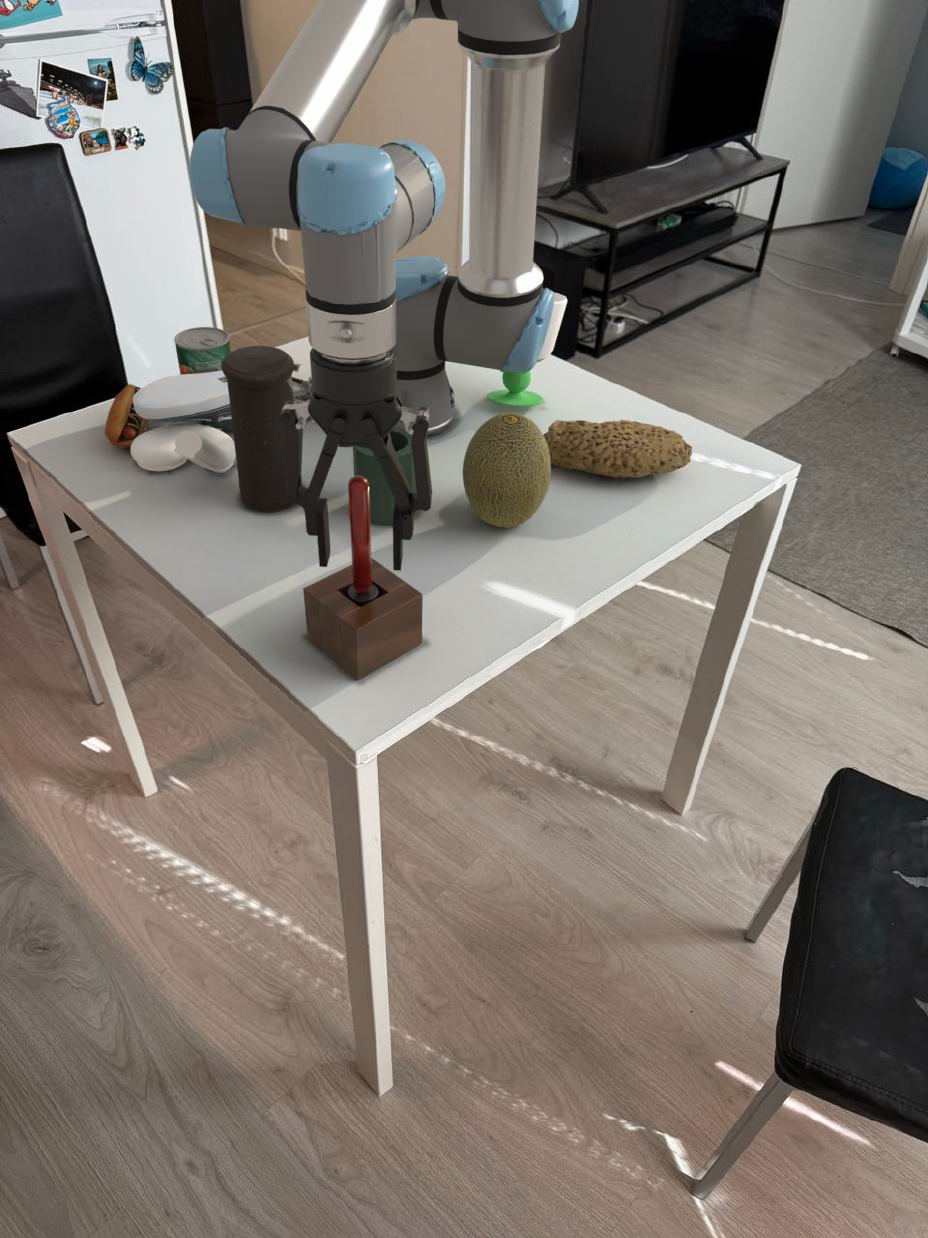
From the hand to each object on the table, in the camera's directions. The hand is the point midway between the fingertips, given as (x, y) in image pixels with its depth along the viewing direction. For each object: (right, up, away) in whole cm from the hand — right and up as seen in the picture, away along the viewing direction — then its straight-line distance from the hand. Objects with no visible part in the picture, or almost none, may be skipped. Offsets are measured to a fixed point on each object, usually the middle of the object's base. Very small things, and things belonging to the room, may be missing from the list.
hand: (361, 560), depth 93 cm
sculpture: (-28, +16, +34) cm, 47 cm away
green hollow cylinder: (0, +9, +28) cm, 29 cm away
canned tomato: (-29, +27, +47) cm, 62 cm away
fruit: (+16, +7, +27) cm, 32 cm away
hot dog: (-41, +22, +39) cm, 60 cm away
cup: (+19, +29, +52) cm, 62 cm away
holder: (0, -8, +7) cm, 11 cm away
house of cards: (-13, +31, +46) cm, 57 cm away
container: (-15, +10, +29) cm, 34 cm away
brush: (0, -8, +7) cm, 11 cm away
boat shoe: (-25, +29, +36) cm, 53 cm away
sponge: (+32, +16, +38) cm, 53 cm away
